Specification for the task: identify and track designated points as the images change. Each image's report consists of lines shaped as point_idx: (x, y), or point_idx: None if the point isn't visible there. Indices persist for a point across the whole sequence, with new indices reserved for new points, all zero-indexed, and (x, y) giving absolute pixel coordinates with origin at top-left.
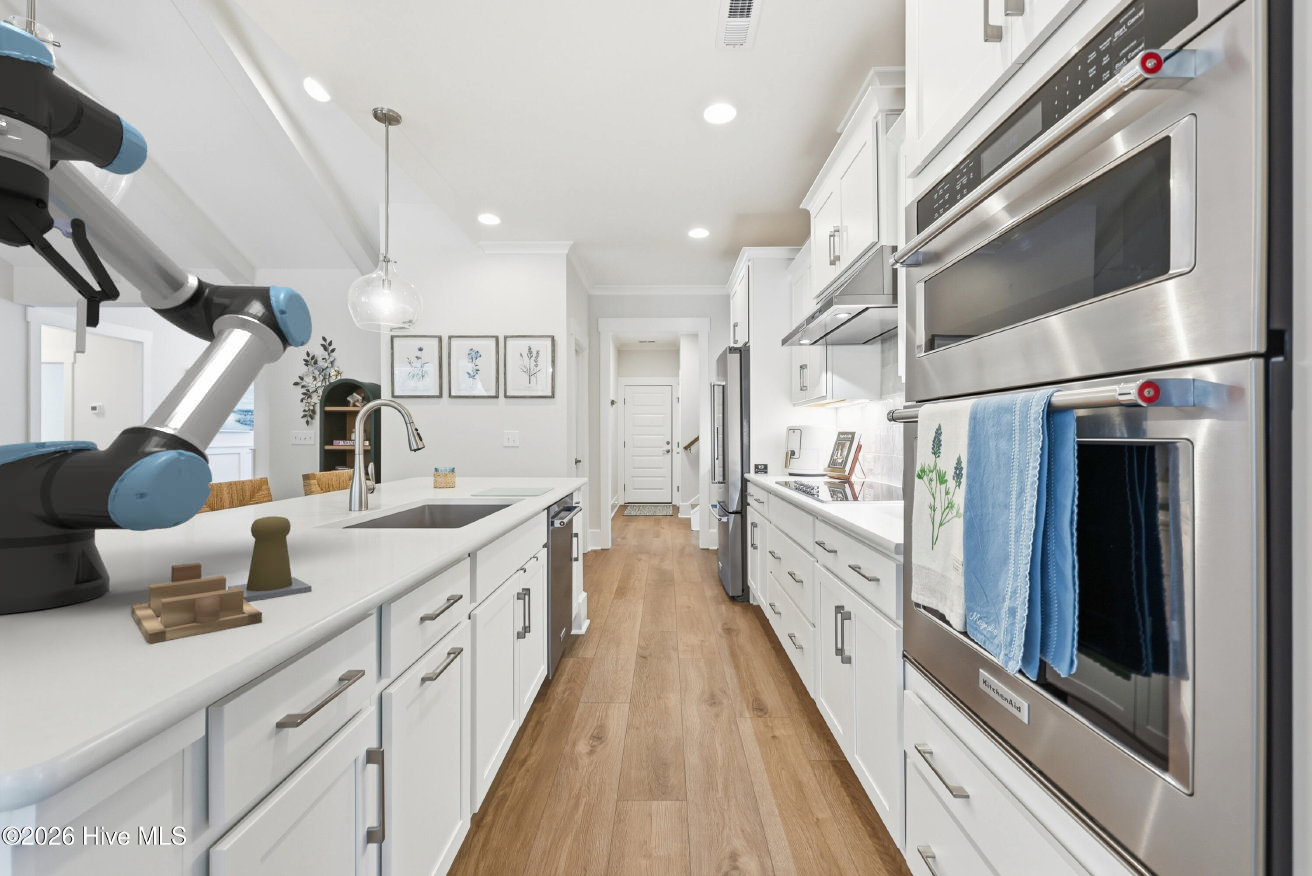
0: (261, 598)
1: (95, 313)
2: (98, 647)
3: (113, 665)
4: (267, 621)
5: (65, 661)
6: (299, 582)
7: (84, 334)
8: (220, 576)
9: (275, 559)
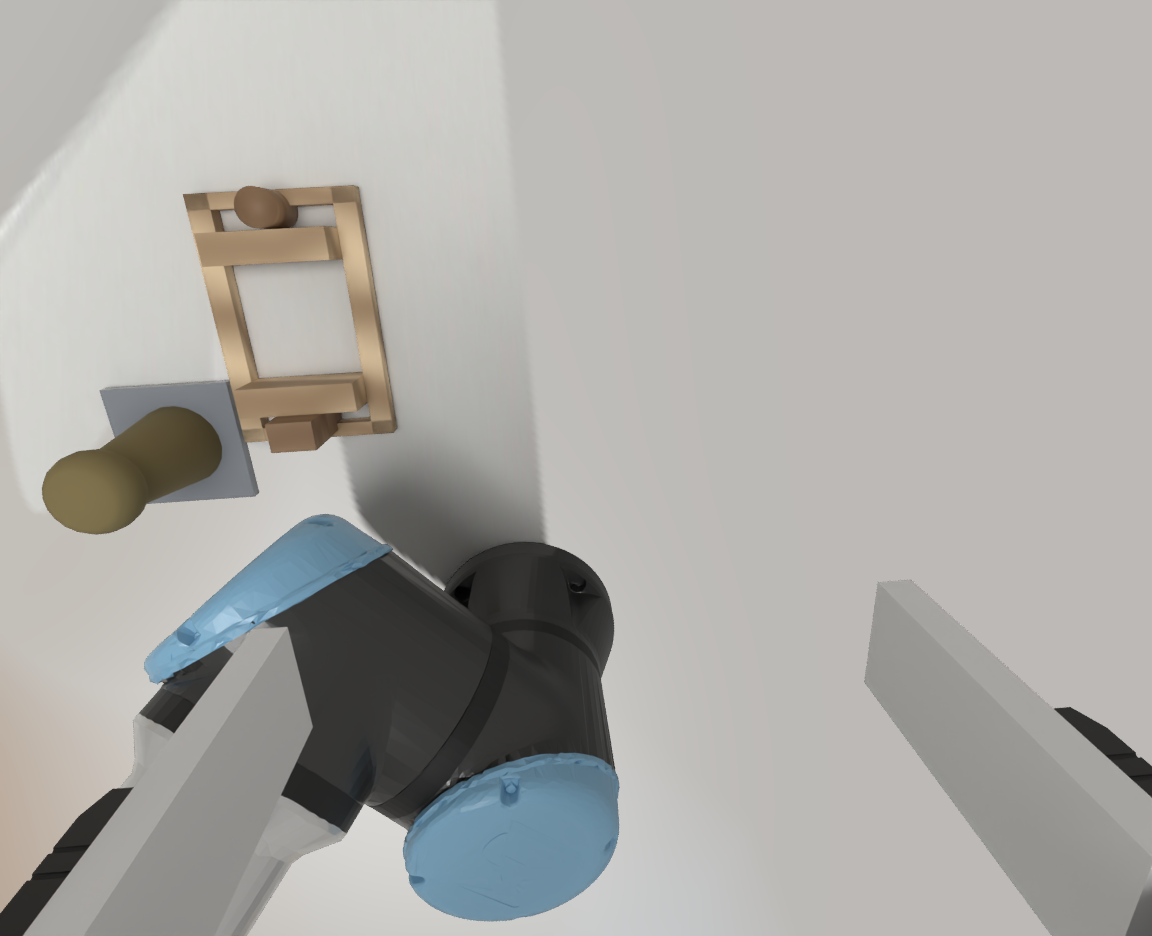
0: (197, 382)
1: (48, 888)
2: (423, 227)
3: (395, 91)
4: None
5: (456, 175)
6: None
7: (208, 699)
8: (243, 411)
9: (131, 432)
